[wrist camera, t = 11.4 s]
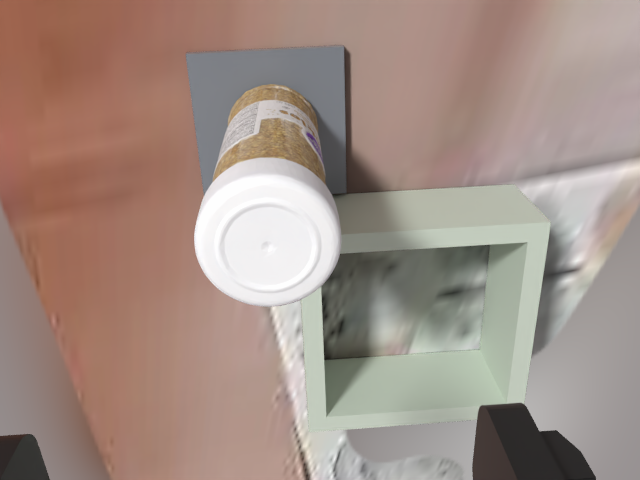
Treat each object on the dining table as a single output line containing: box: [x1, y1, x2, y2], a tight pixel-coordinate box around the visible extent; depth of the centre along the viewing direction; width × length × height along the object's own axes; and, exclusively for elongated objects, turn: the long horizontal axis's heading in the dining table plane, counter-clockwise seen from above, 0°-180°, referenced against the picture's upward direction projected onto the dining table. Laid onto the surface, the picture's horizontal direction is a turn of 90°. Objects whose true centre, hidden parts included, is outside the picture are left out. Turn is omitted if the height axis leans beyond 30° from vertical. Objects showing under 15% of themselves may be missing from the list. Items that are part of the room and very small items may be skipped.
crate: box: [301, 184, 551, 432], centre depth 33 cm, size 12×12×5 cm
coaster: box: [186, 45, 347, 196], centre depth 30 cm, size 8×8×1 cm
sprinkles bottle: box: [194, 84, 342, 307], centre depth 24 cm, size 5×5×14 cm
